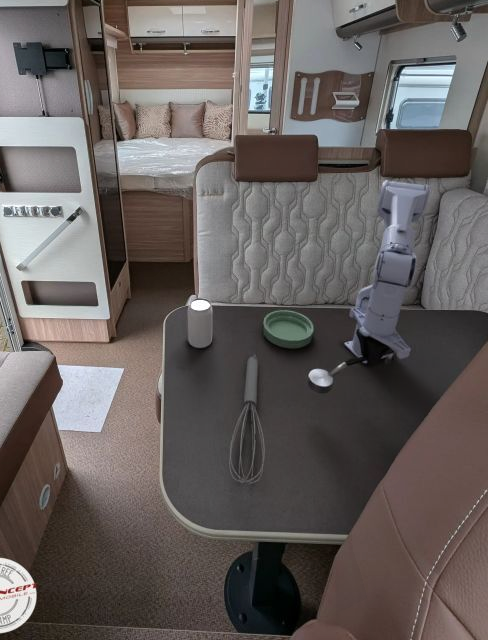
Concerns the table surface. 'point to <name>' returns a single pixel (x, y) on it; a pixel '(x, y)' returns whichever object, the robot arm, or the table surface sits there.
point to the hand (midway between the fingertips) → (369, 361)
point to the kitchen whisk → (249, 404)
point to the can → (200, 323)
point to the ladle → (324, 380)
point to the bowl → (288, 329)
